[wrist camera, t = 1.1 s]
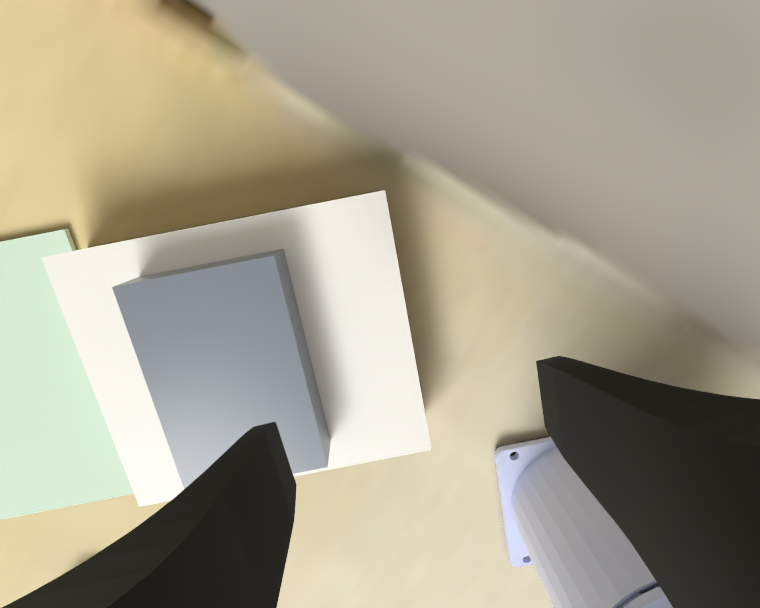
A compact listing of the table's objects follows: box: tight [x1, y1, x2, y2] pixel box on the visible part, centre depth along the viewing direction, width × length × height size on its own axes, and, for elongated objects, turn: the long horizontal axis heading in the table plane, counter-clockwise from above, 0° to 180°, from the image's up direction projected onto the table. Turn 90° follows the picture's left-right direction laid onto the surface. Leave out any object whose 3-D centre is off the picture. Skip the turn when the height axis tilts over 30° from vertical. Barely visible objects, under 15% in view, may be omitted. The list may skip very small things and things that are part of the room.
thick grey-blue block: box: [112, 249, 331, 489], centre depth 18 cm, size 6×9×2 cm, turn 11°
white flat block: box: [41, 190, 432, 507], centre depth 20 cm, size 14×12×3 cm
